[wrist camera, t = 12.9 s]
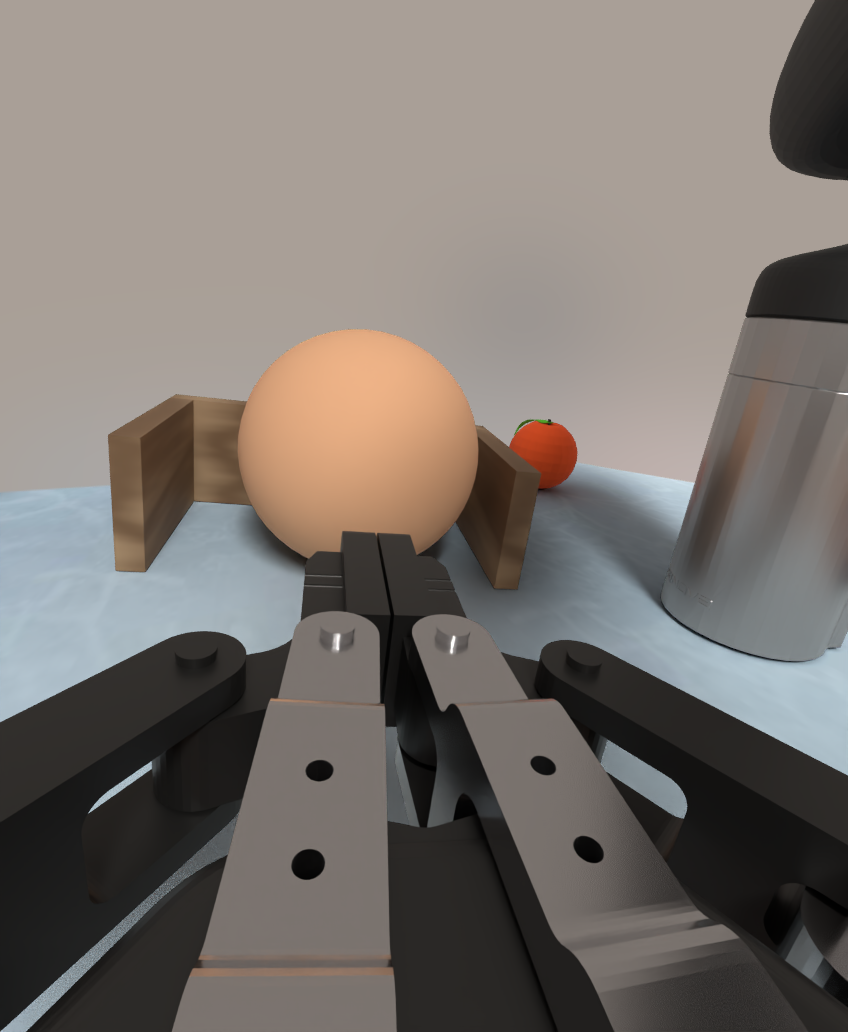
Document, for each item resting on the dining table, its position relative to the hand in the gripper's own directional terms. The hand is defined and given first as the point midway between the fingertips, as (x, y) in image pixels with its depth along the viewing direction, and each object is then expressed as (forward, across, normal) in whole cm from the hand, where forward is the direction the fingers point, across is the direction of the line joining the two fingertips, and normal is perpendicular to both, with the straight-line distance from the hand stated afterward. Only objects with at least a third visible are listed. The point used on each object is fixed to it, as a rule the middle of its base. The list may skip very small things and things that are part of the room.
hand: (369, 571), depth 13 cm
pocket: (+24, 0, +10) cm, 26 cm away
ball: (+22, -1, +3) cm, 22 cm away
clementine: (+42, -21, +11) cm, 48 cm away
